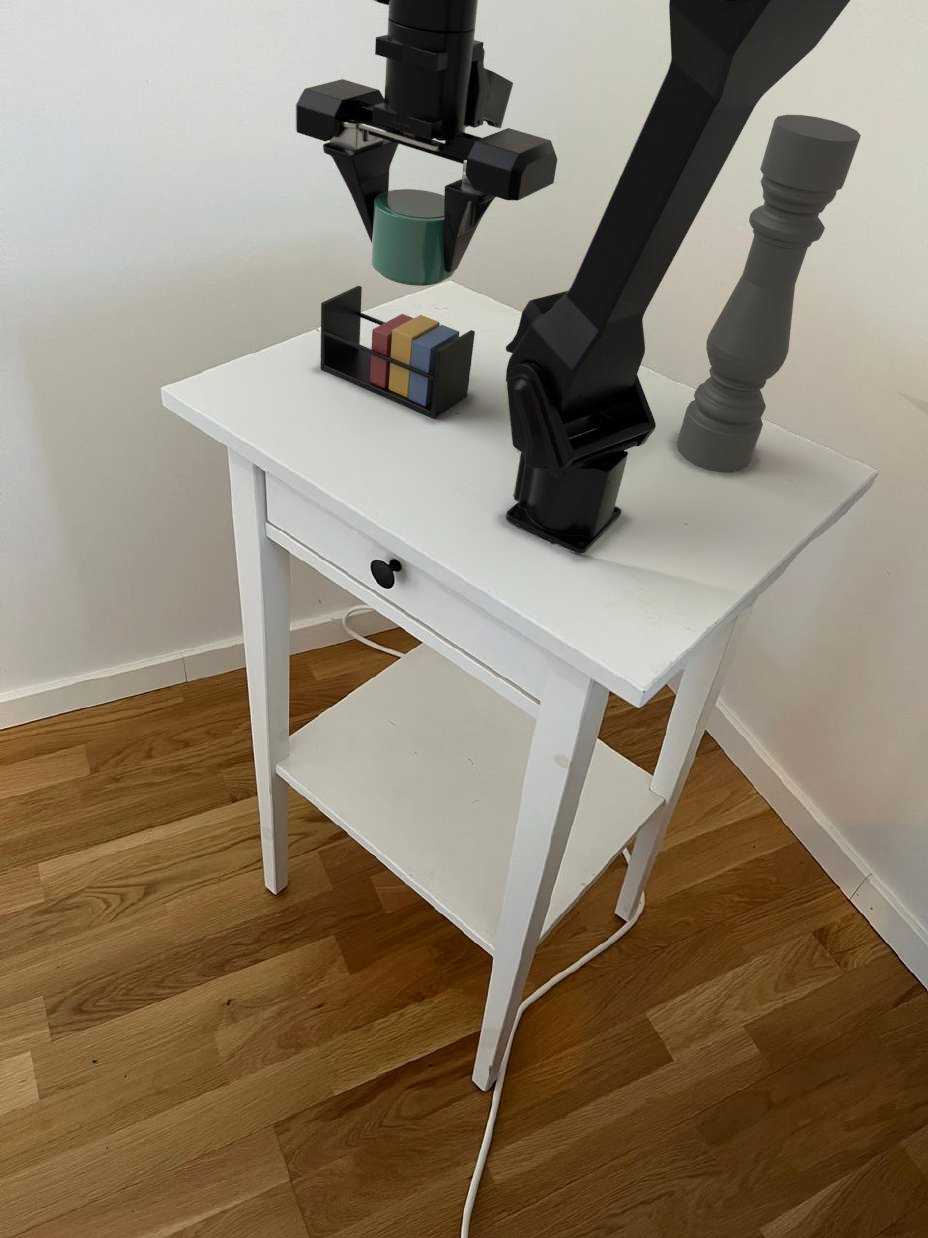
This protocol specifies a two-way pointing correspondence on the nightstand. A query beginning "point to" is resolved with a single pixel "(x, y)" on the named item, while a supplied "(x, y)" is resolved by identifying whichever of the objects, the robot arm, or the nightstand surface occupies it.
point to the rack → (355, 360)
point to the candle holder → (765, 289)
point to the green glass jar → (409, 237)
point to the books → (408, 354)
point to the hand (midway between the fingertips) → (414, 257)
